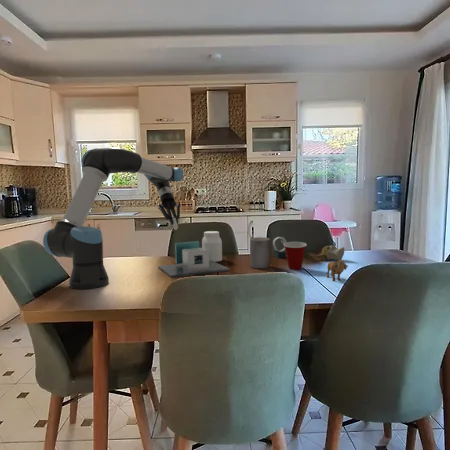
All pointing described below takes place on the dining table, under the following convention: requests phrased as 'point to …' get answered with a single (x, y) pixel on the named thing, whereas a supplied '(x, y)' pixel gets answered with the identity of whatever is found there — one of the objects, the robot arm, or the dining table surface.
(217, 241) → the jar
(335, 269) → the lion figurine
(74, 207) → the robot arm
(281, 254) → the watch
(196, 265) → the block
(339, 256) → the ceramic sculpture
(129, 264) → the dining table surface
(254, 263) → the pillar candle
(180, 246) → the teal piece
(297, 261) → the plastic cup
